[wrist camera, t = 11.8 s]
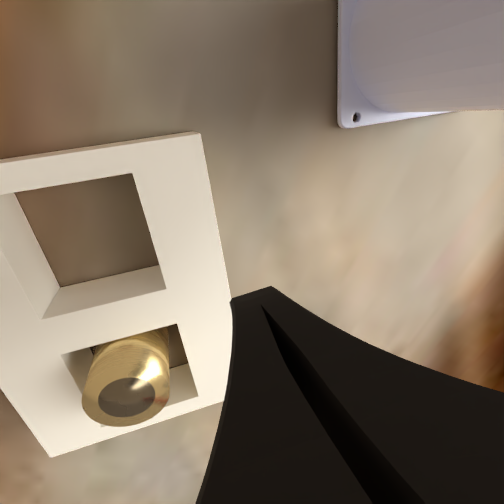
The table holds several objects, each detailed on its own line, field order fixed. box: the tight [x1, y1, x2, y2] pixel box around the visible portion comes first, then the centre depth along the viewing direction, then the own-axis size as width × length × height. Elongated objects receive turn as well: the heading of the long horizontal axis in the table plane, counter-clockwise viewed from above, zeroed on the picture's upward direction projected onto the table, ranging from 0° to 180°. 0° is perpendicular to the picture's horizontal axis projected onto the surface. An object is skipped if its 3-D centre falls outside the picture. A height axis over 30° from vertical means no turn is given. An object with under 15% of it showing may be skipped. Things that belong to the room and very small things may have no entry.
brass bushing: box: [81, 326, 170, 427], centre depth 17 cm, size 4×4×5 cm
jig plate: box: [0, 131, 232, 458], centre depth 16 cm, size 12×16×3 cm
